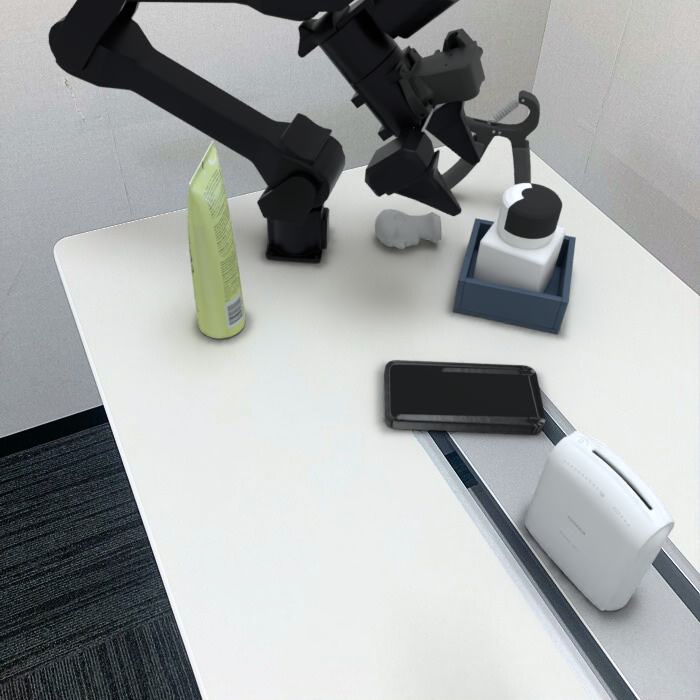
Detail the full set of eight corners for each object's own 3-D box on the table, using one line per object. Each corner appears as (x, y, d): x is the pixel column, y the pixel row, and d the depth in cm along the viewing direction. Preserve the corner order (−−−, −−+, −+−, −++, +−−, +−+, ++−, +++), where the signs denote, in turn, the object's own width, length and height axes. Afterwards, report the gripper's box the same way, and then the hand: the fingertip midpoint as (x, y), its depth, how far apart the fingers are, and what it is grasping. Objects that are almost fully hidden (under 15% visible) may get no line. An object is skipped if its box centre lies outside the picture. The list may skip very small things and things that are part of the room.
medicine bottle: (552, 278, 86) (578, 188, 77) (530, 315, 81) (556, 224, 73) (493, 257, 88) (513, 167, 79) (469, 291, 83) (487, 201, 75)
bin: (452, 312, 82) (458, 279, 79) (469, 249, 90) (475, 217, 86) (558, 334, 80) (568, 302, 77) (566, 268, 88) (576, 237, 85)
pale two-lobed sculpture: (371, 255, 90) (378, 220, 92) (438, 263, 89) (443, 228, 91) (370, 233, 86) (377, 198, 88) (440, 242, 85) (445, 206, 88)
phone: (547, 427, 70) (385, 420, 70) (544, 434, 71) (384, 428, 70) (534, 364, 75) (384, 358, 75) (532, 372, 76) (384, 366, 76)
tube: (187, 314, 80) (160, 153, 66) (230, 298, 82) (213, 138, 68) (211, 347, 77) (188, 184, 63) (255, 329, 79) (242, 167, 65)
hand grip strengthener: (431, 188, 98) (445, 79, 87) (528, 201, 97) (555, 92, 86) (429, 198, 97) (443, 88, 86) (527, 212, 95) (555, 101, 85)
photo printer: (514, 522, 64) (546, 432, 55) (551, 500, 66) (589, 409, 57) (601, 623, 58) (653, 541, 49) (640, 596, 60) (697, 512, 51)
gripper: (412, 65, 60) (519, 209, 66) (463, -26, 72) (549, 103, 78) (317, 131, 67) (422, 254, 73) (377, 38, 79) (463, 152, 85)
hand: (467, 187), depth 77 cm, fingers open, 9 cm apart
